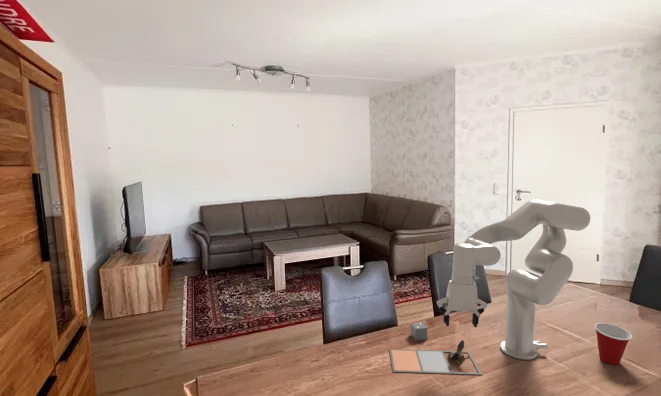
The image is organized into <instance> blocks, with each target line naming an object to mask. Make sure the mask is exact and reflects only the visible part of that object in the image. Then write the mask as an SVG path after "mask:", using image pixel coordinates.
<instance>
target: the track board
mask: <svg viewBox="0 0 661 396" xmlns="http://www.w3.org/2000/svg"><path fill="white" fill-rule="evenodd" d="M388 352H389V357H390V362H391V363H390V364H391V369H392V373H402V374H403V373H404V374H406V373H407V374H431V375H432V374H435V375H436V374H438V375H464V376H467V375H468V376H483V374H482V373H483V372H481V370H480V368H479V366H478V364H477V362H476V361H475V359H474V357H473V355H472V354H471V351H469V350H462V352H461V354H468V356H470V357H469V359H470V360H471V361H472V364H473V365H474V367H475V369H476V371H477V372H460V371H459V372H458V371H452V368H451V366H450V363H449V361H448V358H447V356H446V354H445V353H448V354H449V353H451V352H457V350H439V349H435V350H432V349H431V350H429V349H406V348H405V349H401V348H400V349H399V348H398V349H397V348H396V349H395V348H388Z"/></svg>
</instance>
